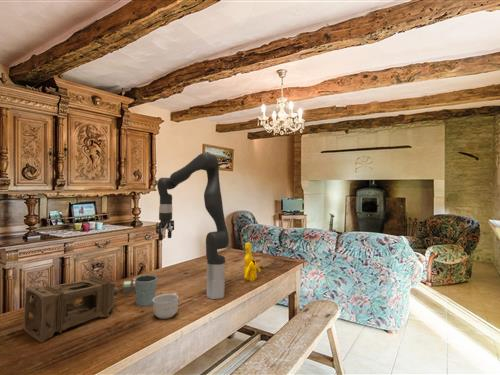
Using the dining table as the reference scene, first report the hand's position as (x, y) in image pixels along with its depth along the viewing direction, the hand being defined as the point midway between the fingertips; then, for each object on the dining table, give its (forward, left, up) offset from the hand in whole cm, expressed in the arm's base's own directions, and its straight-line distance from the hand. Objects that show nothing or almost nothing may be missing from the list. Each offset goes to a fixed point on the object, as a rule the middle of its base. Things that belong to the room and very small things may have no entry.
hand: (165, 239), depth 176 cm
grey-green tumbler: (-31, +11, -25) cm, 41 cm away
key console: (-9, +15, -25) cm, 30 cm away
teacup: (-47, +2, -25) cm, 53 cm away
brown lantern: (-41, +37, -25) cm, 60 cm away
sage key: (-12, +20, -23) cm, 32 cm away
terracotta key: (-12, +15, -23) cm, 30 cm away
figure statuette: (-12, -50, -25) cm, 57 cm away
